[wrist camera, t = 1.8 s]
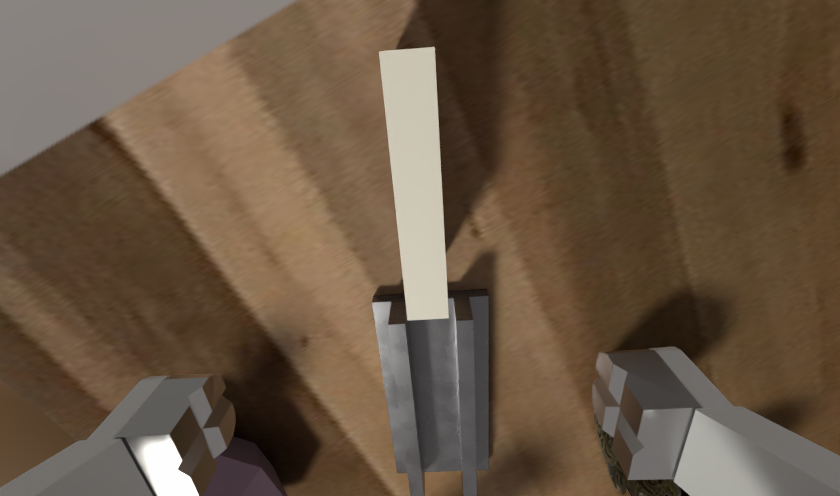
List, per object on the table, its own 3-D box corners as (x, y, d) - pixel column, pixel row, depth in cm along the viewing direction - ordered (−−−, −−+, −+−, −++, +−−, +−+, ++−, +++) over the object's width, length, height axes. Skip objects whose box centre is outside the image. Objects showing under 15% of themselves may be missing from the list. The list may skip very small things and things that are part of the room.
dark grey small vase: (629, 339, 33) (687, 417, 26) (674, 387, 35) (740, 470, 28) (556, 386, 35) (591, 470, 28) (603, 428, 37) (647, 516, 30)
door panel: (392, 56, 24) (379, 51, 17) (431, 52, 24) (434, 46, 17) (411, 258, 30) (407, 320, 23) (442, 256, 30) (448, 318, 23)
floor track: (373, 295, 31) (366, 326, 28) (486, 289, 31) (495, 318, 27) (398, 463, 40) (395, 504, 36) (487, 460, 39) (493, 500, 36)
